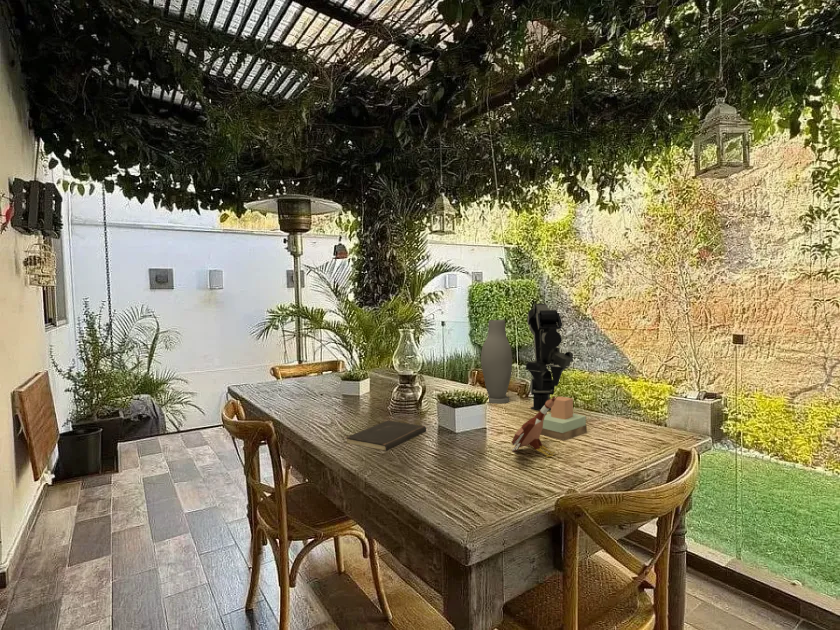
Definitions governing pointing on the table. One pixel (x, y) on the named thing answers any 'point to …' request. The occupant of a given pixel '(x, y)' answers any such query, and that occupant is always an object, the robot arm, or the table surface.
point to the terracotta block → (562, 408)
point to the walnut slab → (564, 435)
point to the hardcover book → (386, 435)
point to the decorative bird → (533, 431)
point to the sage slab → (563, 423)
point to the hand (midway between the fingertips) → (548, 387)
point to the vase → (496, 362)
